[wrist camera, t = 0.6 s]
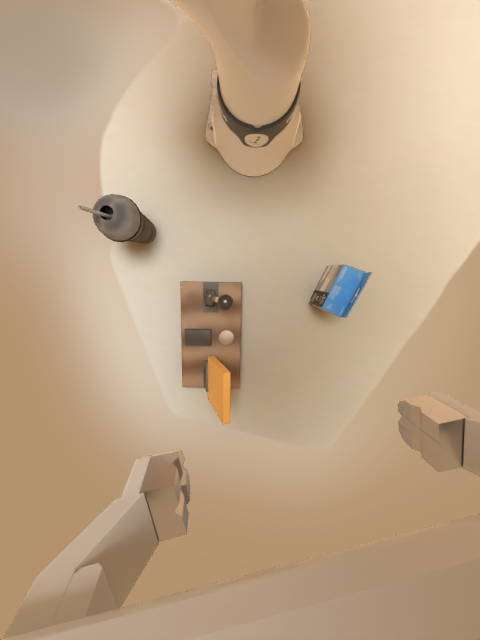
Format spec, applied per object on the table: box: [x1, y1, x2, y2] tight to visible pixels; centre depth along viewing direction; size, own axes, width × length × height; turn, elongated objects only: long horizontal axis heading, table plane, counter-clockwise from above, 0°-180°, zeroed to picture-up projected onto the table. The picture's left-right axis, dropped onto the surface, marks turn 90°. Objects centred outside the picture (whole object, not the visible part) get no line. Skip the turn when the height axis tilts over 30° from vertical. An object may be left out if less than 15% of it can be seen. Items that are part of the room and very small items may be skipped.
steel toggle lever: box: [205, 290, 234, 310], centre depth 45 cm, size 3×3×12 cm
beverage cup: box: [78, 194, 156, 243], centre depth 43 cm, size 7×7×20 cm
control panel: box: [180, 281, 241, 388], centre depth 54 cm, size 22×12×5 cm, turn 179°
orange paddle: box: [206, 356, 230, 424], centre depth 48 cm, size 9×2×11 cm, turn 179°
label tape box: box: [309, 265, 372, 318], centre depth 49 cm, size 9×4×12 cm, turn 154°
